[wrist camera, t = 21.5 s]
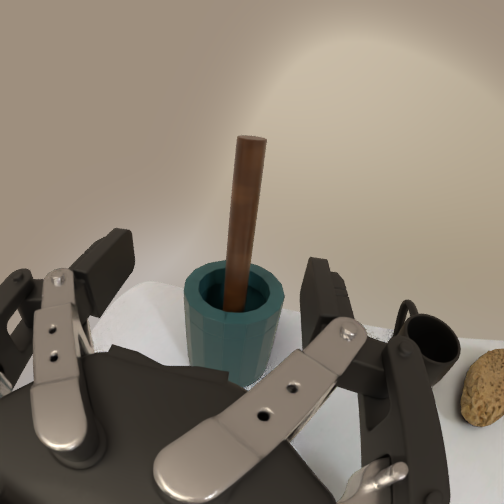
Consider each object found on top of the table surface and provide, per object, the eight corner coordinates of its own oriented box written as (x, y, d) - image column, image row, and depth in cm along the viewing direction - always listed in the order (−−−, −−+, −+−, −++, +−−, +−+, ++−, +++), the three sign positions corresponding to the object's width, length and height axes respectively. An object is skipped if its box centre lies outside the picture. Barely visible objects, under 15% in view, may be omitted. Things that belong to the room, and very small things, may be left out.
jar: (175, 370, 29) (165, 301, 23) (208, 320, 37) (210, 252, 31) (253, 400, 27) (268, 337, 21) (275, 341, 35) (292, 274, 29)
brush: (204, 359, 30) (210, 136, 18) (219, 333, 34) (234, 131, 22) (241, 372, 29) (275, 145, 17) (253, 345, 33) (288, 139, 21)
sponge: (499, 365, 31) (443, 352, 30) (528, 342, 26) (481, 321, 25) (509, 426, 21) (453, 436, 20) (543, 405, 16) (502, 412, 15)
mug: (405, 343, 36) (434, 295, 31) (427, 407, 25) (470, 362, 21) (360, 342, 36) (386, 291, 31) (376, 414, 26) (417, 367, 21)
